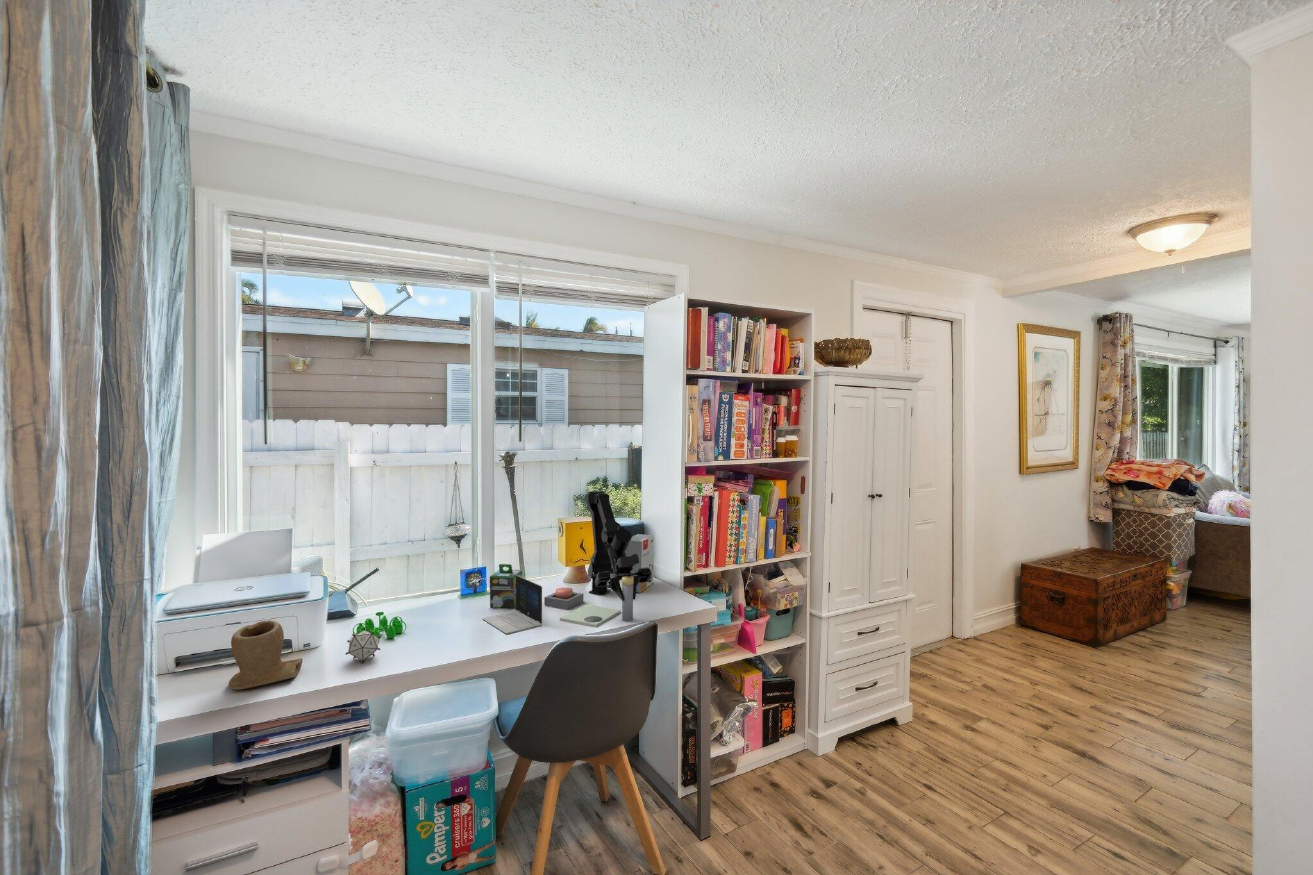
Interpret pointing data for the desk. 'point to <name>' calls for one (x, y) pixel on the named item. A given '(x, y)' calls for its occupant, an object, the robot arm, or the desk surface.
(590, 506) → the robot arm
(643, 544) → the hard drive box
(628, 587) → the marker
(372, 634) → the game die
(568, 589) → the button
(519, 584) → the laptop
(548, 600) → the button housing
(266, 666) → the stone cup
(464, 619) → the desk surface
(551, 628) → the desk surface
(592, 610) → the pale green board
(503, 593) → the chalk box
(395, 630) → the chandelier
